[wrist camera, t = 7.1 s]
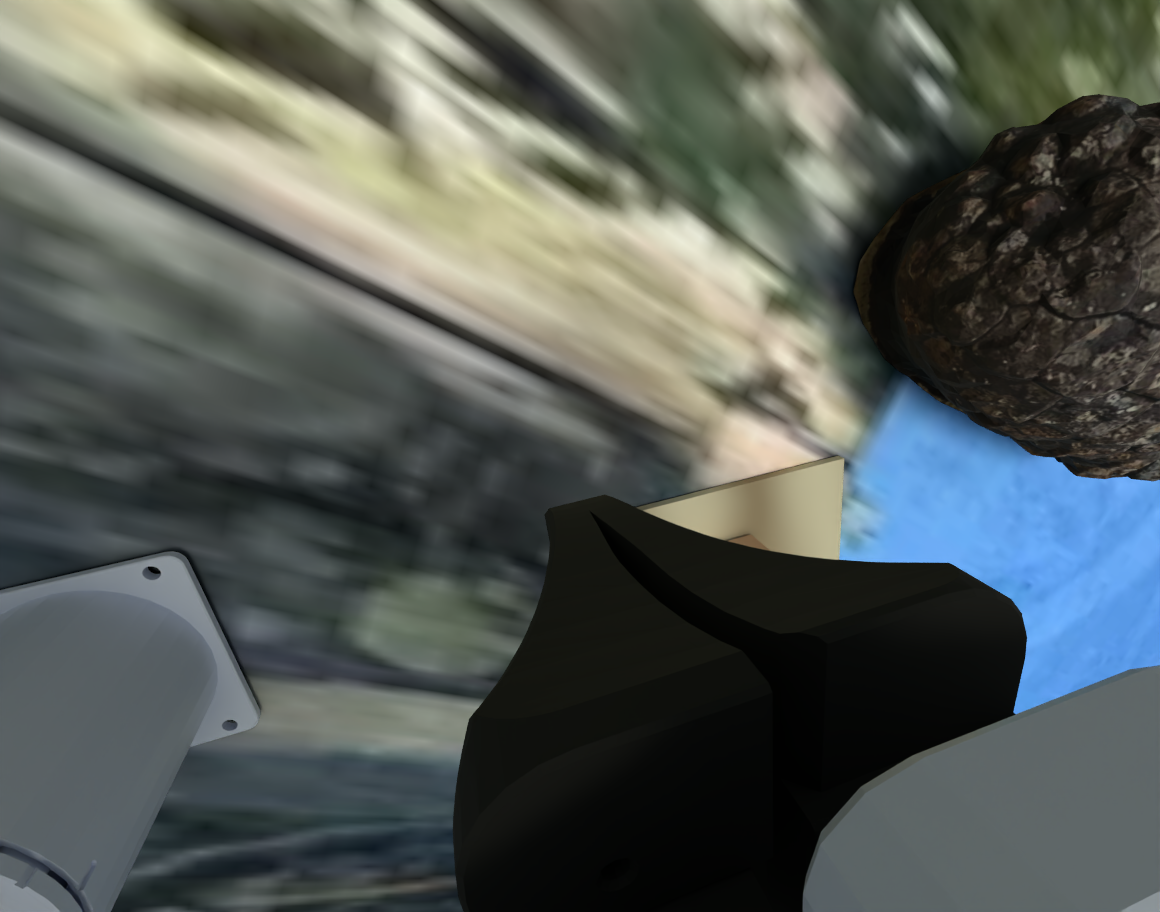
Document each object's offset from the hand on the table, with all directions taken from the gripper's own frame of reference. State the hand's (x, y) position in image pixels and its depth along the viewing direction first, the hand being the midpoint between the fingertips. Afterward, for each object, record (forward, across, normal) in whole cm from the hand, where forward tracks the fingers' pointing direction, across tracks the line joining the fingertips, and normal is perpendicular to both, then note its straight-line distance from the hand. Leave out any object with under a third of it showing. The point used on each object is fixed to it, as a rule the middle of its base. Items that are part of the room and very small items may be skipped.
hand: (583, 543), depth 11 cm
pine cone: (+10, -22, 0) cm, 24 cm away
